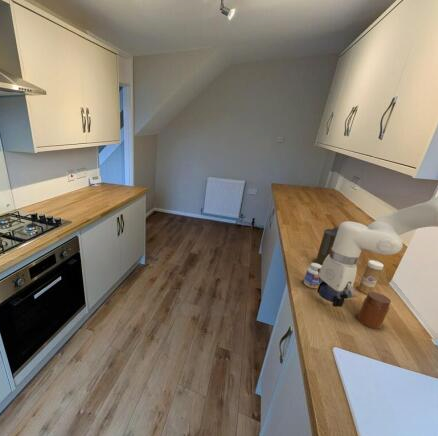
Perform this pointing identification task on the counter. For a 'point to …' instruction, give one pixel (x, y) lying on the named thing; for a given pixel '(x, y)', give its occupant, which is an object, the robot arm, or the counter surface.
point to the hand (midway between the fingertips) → (328, 298)
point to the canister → (326, 244)
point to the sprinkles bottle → (370, 276)
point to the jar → (374, 310)
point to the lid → (328, 293)
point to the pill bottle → (312, 276)
